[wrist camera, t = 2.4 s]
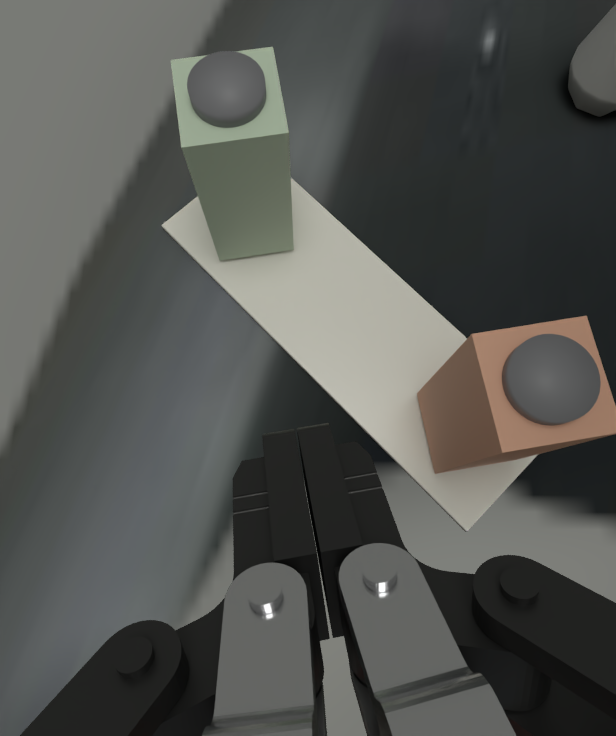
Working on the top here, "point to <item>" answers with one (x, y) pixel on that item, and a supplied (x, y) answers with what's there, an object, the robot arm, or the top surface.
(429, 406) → the light brown tall block
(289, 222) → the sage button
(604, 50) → the salt shaker
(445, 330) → the button board
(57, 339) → the top surface
